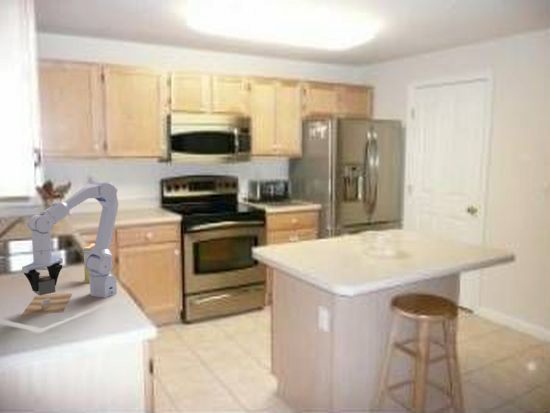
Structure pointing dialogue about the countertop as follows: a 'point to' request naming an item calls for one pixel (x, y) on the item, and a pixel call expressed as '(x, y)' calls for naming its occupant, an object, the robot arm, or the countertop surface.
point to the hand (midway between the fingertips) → (44, 288)
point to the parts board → (56, 304)
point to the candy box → (86, 254)
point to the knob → (46, 285)
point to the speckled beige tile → (45, 303)
